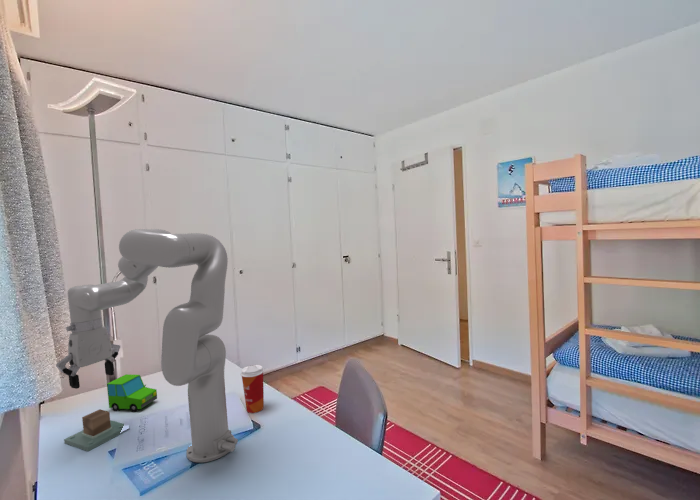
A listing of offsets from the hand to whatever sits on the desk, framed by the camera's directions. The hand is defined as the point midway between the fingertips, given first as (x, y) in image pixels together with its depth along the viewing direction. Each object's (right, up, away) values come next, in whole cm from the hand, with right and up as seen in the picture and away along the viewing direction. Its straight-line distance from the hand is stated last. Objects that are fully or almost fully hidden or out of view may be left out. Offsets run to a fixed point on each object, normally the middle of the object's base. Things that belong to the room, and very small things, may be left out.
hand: (93, 381), depth 106 cm
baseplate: (+1, -17, +1) cm, 17 cm away
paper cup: (+46, -14, +12) cm, 50 cm away
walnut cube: (+1, -16, +1) cm, 16 cm away
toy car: (+1, -17, +20) cm, 26 cm away
